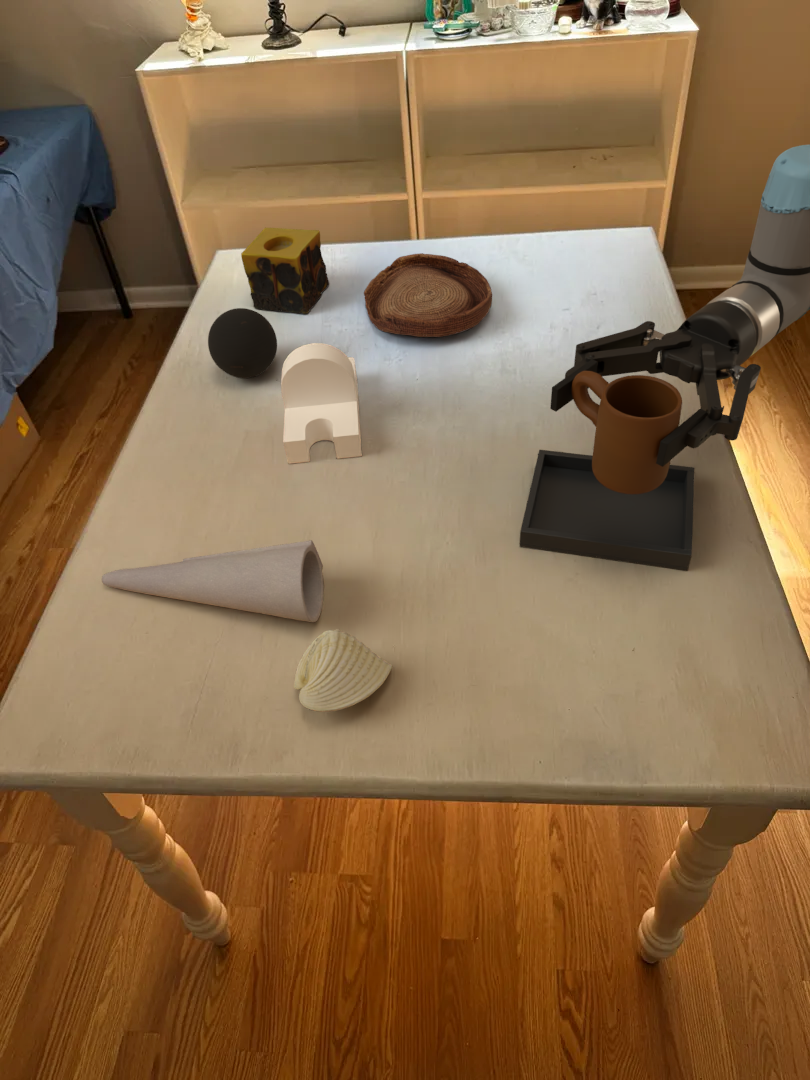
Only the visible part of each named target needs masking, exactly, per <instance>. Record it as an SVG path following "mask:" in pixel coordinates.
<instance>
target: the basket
mask: <svg viewBox="0 0 810 1080" xmlns="http://www.w3.org/2000/svg"><path fill="white" fill-rule="evenodd" d="M363 296H364V301H365V308H366V309H365V310H366V312H367V316H368V318H369V320H370V322H371V323H372V325H373V326H375V328H376V329H378V330H379V331H382V332H384V333H391V334H395V335H403V336H414V337H417V338H418V337H419V338H428V337H429V338H440V337H446V336H447V337H449V336H452V335H456V334H460V333H463V332H466V331H469V330H470V329H473V328H474V327H476V326H477V325H479V324H480V323H481V322H482V321H483V320H484V319H485V317H486V316H487V315H488V313H489V312H490V309H491V307H492V302H493V291H492V287H491V284H490V283H489V281H488V279H487V278H486V276H484V275H483V273H481V272H480V271H479V270H478V269H477V268H474V267H473V266H472V265H469V264H467V263H466V262H464V261H463V262H462V261H461V262H459V261H458V260H457V259H456V258H453V257H449V256H446V255H442V254H441V255H440V254H431V253H413V254H407V255H403V256H399V257H397V258H395V260H393V262H392V263H391V264H390V265H388V266H386V267H385V268H384V269H381V270H380V272H379V273H377V275H376V276H375V277H373V278H372V279H371V280H370V281H369V283H368V284H367V286H366V287H365V289H364V290H363Z"/></svg>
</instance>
